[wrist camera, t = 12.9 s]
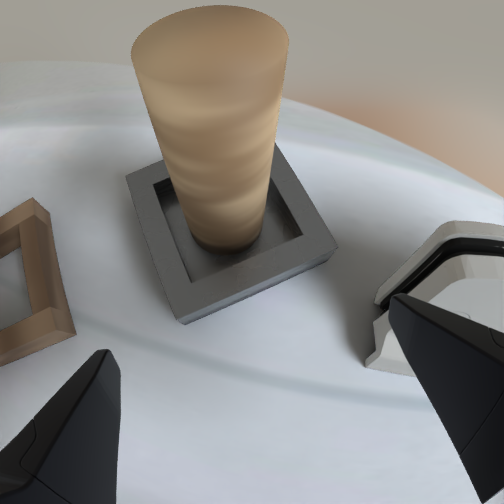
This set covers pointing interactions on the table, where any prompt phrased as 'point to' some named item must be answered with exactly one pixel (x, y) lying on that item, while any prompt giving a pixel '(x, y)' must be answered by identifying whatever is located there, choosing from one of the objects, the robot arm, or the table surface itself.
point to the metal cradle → (230, 266)
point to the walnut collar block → (35, 283)
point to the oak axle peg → (215, 115)
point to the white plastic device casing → (445, 284)
